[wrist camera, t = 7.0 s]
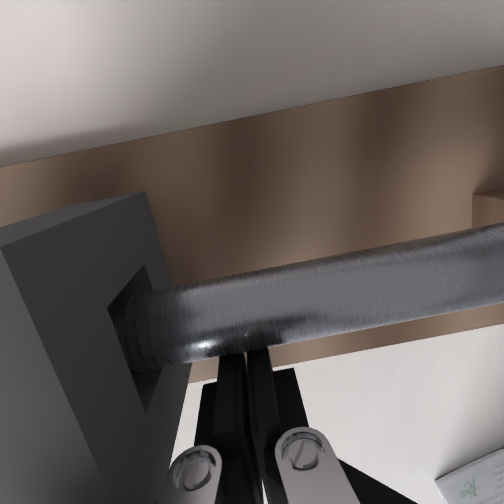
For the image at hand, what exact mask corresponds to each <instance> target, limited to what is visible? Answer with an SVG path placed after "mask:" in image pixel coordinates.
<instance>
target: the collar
mask: <svg viewBox="0 0 504 504" xmlns="http://www.w3.org/2000/svg"><path fill="white" fill-rule="evenodd" d="M168 287H173V286H172V283H171V279H170V276H169V272H168V269H167V265H166V262H165V258H164V255H163V251H162V248H161V244H160V241H159V238H158V234H157V231H156V227H155V224H154V220H153V217H152V213H151V210H150V206H149V203H148V199H147V196H146V192H145V191H140V192H135V193H130V194H125V195H120V196H115V197H110V198H105V199H100V200H95V201H90V202H85V203H80V204H75V205H71V206H68V207H64V208H61V209H58V210H55V211H51V212H48V213H45V214H42V215H38V216H35V217H32V218H29V219H25V220H22V221H19V222H16V223H12V224H9V225H6V226H3V227H0V504H154V503H155V502H156V501H157V500H158V498H159V495H160V493H161V490H162V487H163V484H164V482H165V479H166V476H167V473H168V471H169V467H170V462H171V458H172V453H173V449H174V444H175V439H176V435H177V430H178V426H179V421H180V417H181V412H182V408H183V403H184V399H185V394H186V390H187V385H188V380H189V376H190V371H191V367H192V362H191V363H185V364H180V365H175V366H170V367H164V368H159V369H154V370H149V371H143V372H138V373H133V374H131V373H130V370H129V368H128V365H127V362H126V359H125V357H124V354H123V351H122V348H121V345H120V343H119V340H118V337H117V334H116V332H115V329H114V326H113V323H112V321H111V318H110V315H109V312H108V310H107V307H108V305H109V304H110V303H111V302H112V301H113V300H114V298H116V297H122V296H127V295H132V294H137V293H142V292H147V291H152V290H157V289H163V288H168Z"/></svg>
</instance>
